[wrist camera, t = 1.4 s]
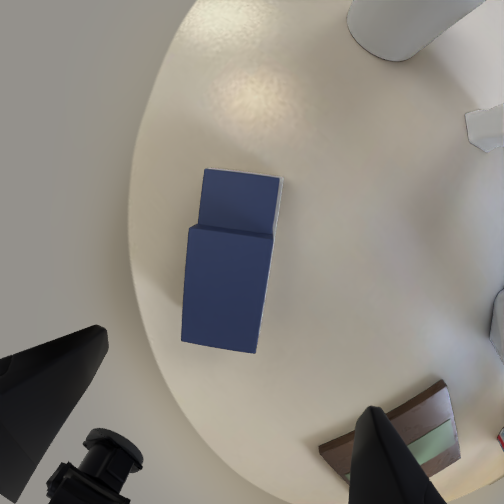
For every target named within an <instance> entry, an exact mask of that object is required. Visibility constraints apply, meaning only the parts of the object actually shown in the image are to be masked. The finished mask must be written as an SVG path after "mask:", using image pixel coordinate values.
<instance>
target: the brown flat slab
mask: <svg viewBox="0 0 504 504" xmlns="http://www.w3.org/2000/svg"><path fill="white" fill-rule="evenodd" d="M386 416H387V417H388V419H389V420H390V422H391V423H392V425H393V426H394V428H395V429H396V431H397V432H398V433H399V435H400V436H401V438H402V439H403V441H404V442H405V444H406V445H407V447H408V448H409V450H410V451H411V453H412V454H413V456H414V457H415V458H416V460H417V461H418V463H419V464H420V466H421V467H422V469H423V470H424V472H425V473H426V475H427V476H428V478H429V477H431V476H433V475H434V474H436V473H438V472H440V471H441V470H443V469H445V468H446V467H448V466H449V465H451V464H452V463H454V462H456V461H457V460H459V459H460V458H461V456H460V449H459V442H458V436H457V430H456V425H455V420H454V415H453V410H452V405H451V401H450V396H449V392H448V388H447V385H446V384H445V382H444V381H443V380H440V381H439V382H437V383H436V384H434V385H433V386H431V387H430V388H428V389H427V390H425V391H424V392H422V393H421V394H419V395H418V396H416V397H414V398H413V399H411V400H410V401H408V402H406V403H405V404H403V405H401V406H399V407H398V408H396V409H394V410H393V411H391V412H389V413H387V414H386ZM354 436H355V430H354V431H352V432H350V433H348V434H346V435H344V436H341V437H339V438H337V439H335V440H332V441H330V442H328V443H325V444H323V445H321V446H319V453H320V455H321V456H322V457H323V458H324V459H325V461H326V462H327V463H328V464H329V465H330V466H331V467H332V468H333V469H334V470H335V471H336V472H337V473H338V474H339V475H340V476H341V477H342V478H343V479H344V480H345V481H346V483H347V484H348V485H349V486H350V467H351V457H352V450H353V443H354Z"/></svg>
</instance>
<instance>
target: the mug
mask: <svg viewBox="0 0 504 504" xmlns="http://www.w3.org/2000/svg"><path fill="white" fill-rule="evenodd" d="M485 1H486V0H353V1H352V4H351V7H350V9H349V12H348V15H347V24H348V28H349V30H350V32H351V34H352V36H353V37H354V38H355V40H356V41H357V42H358V43H359V44H360V45H361V46H362V47H363V48H365V49H366V50H367V51H369V52H370V53H372V54H374V55H376V56H378V57H380V58H383V59H386V60H390V61H403V60H407V59H409V58H411V57H412V56H413V55H415V54H416V53H417V52H418V51H420V50H421V49H422V48H424V47H425V46H427V45H428V44H429V43H430V42H432V41H433V40H434V39H435V38H437V37H438V36H439V35H441V34H442V33H443V32H444V31H446V30H447V29H448V28H450V27H451V26H452V25H454V24H455V23H456V22H458V21H459V20H460V19H462V18H463V17H465V16H466V15H467V14H469V13H470V12H471V11H473V10H474V9H476V8H477V7H478V6H480V5H481V4H482V3H484V2H485Z"/></svg>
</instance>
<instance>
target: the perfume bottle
mask: <svg viewBox="0 0 504 504" xmlns="http://www.w3.org/2000/svg"><path fill="white" fill-rule="evenodd" d="M465 119H466V125H467V131H468V138H469V142H470V143H471V144H473V145H475V146H477V147H478V148H480V149H482V150H484V151H485V152H487V153H488V152H490V151H491V150H493V149H494V148H496V147H504V103H503V104H500V105H498V106H496V107H493V108H491V109H488V110H481V109H479V110H476V111H472V112H469V113H466V114H465Z"/></svg>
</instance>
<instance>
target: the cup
mask: <svg viewBox="0 0 504 504" xmlns="http://www.w3.org/2000/svg"><path fill="white" fill-rule="evenodd" d="M498 441H499V443H500V445H501V447H502V450H503V452H504V428H503V429H502V430H501V432H500V434H499V435H498Z"/></svg>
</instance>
